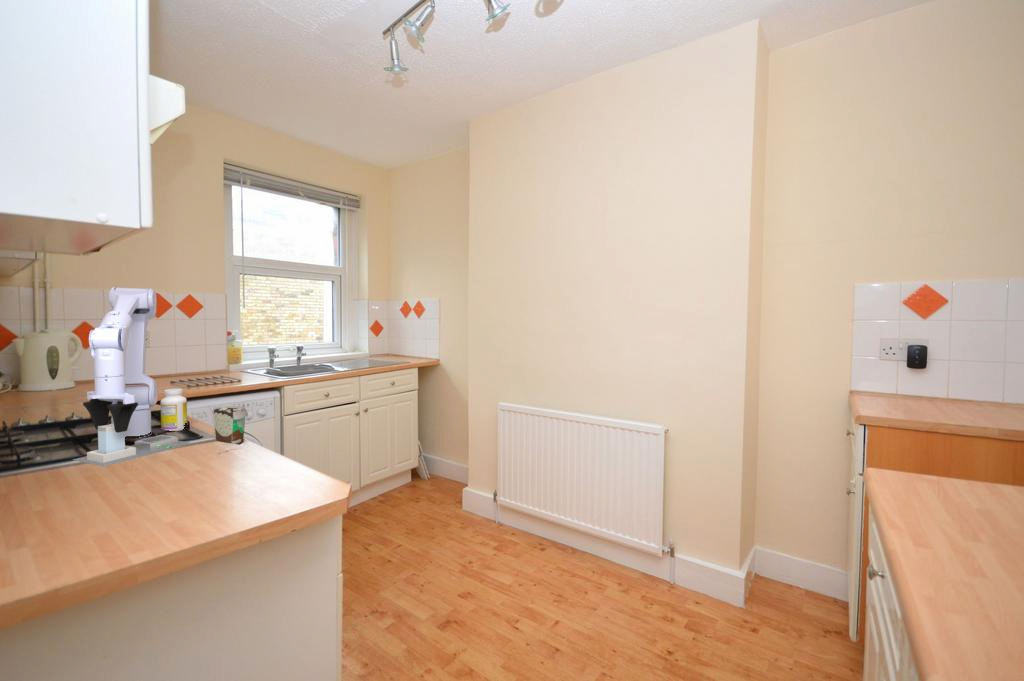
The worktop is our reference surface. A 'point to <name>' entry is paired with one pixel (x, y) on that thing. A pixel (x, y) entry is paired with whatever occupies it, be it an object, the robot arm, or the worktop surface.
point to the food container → (229, 423)
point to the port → (156, 442)
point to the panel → (138, 454)
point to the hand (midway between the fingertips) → (111, 430)
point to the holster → (111, 454)
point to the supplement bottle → (173, 410)
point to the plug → (110, 439)
